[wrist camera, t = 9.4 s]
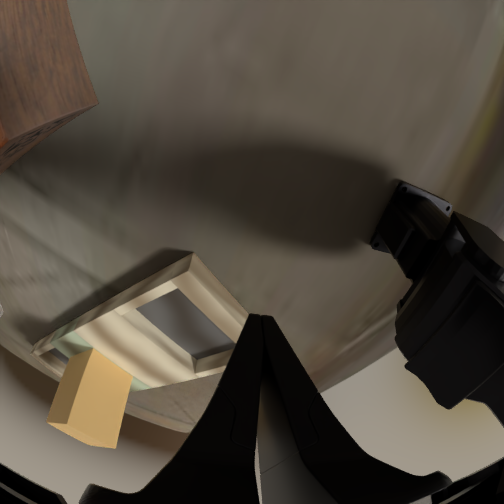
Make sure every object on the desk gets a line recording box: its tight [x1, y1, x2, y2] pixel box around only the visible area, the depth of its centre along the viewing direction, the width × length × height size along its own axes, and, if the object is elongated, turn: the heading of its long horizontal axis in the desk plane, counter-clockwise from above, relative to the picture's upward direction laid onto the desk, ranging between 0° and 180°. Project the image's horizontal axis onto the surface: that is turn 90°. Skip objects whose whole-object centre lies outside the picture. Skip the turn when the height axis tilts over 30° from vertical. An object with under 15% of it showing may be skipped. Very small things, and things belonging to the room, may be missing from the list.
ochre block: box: [47, 348, 133, 448], centre depth 28 cm, size 7×7×11 cm
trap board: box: [30, 252, 249, 392], centre depth 32 cm, size 37×14×2 cm, turn 121°
